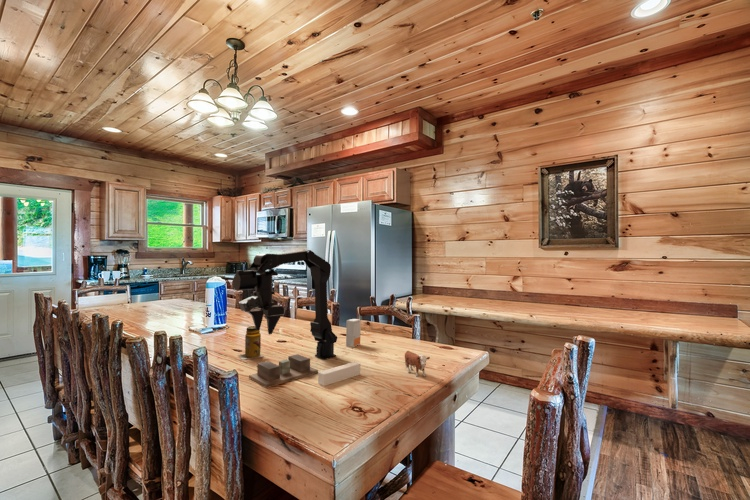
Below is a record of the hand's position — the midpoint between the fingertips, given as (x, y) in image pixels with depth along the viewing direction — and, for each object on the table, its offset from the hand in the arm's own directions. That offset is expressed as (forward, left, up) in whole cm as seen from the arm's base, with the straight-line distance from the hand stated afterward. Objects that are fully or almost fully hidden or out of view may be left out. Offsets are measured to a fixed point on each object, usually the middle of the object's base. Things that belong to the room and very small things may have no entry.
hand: (263, 332), depth 124 cm
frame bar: (-16, +24, -15) cm, 32 cm away
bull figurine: (-38, +40, -15) cm, 57 cm away
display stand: (-4, +8, -15) cm, 17 cm away
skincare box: (-48, -5, -15) cm, 50 cm away
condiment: (-6, -22, -15) cm, 28 cm away
